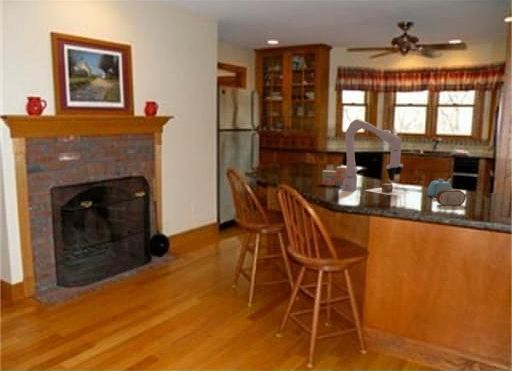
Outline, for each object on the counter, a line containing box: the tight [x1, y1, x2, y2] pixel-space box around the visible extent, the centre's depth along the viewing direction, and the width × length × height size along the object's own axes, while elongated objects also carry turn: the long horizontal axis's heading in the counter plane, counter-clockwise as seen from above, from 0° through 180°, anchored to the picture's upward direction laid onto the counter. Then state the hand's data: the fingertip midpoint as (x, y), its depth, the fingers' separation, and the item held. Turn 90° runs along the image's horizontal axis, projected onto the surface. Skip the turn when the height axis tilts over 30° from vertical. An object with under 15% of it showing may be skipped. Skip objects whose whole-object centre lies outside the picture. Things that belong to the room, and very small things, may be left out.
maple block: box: [388, 173, 401, 183], centre depth 264 cm, size 4×4×4 cm
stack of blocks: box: [321, 166, 347, 187], centre depth 293 cm, size 21×6×12 cm, turn 72°
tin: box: [435, 189, 467, 207], centre depth 235 cm, size 15×3×8 cm, turn 92°
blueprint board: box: [364, 187, 410, 197], centre depth 269 cm, size 22×16×1 cm
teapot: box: [427, 178, 453, 198], centre depth 257 cm, size 13×11×18 cm
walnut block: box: [381, 183, 394, 192], centre depth 269 cm, size 4×4×4 cm
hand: (393, 179), depth 265 cm, fingers closed on maple block, 4 cm apart
